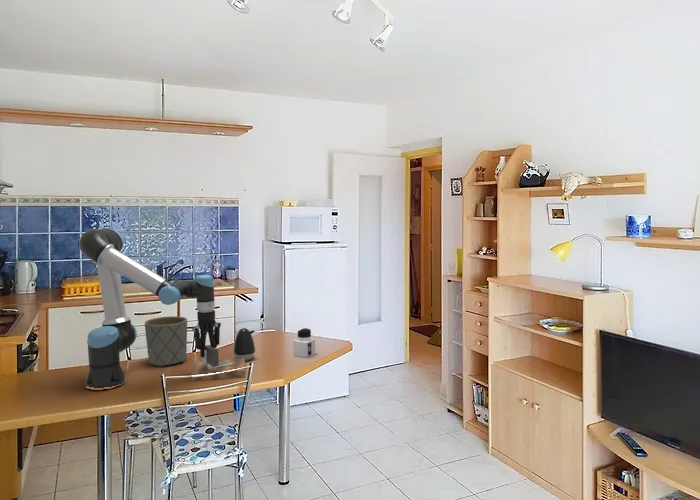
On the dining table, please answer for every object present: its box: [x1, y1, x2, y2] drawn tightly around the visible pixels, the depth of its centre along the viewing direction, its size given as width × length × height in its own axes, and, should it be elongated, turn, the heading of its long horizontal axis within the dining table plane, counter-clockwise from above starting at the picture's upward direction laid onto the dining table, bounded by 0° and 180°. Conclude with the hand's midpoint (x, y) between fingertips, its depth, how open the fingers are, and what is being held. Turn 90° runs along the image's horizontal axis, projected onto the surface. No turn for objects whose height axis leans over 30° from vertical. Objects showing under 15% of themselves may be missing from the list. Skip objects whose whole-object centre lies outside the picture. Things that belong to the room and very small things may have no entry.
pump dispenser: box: [233, 327, 256, 362], centre depth 256 cm, size 10×10×15 cm
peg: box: [205, 344, 234, 370], centre depth 235 cm, size 12×10×10 cm
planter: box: [144, 315, 188, 368], centre depth 253 cm, size 19×19×20 cm
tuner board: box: [191, 358, 246, 382], centre depth 237 cm, size 22×18×3 cm
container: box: [293, 327, 316, 359], centre depth 263 cm, size 8×8×13 cm
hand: (208, 362), depth 235 cm, fingers open, 3 cm apart
